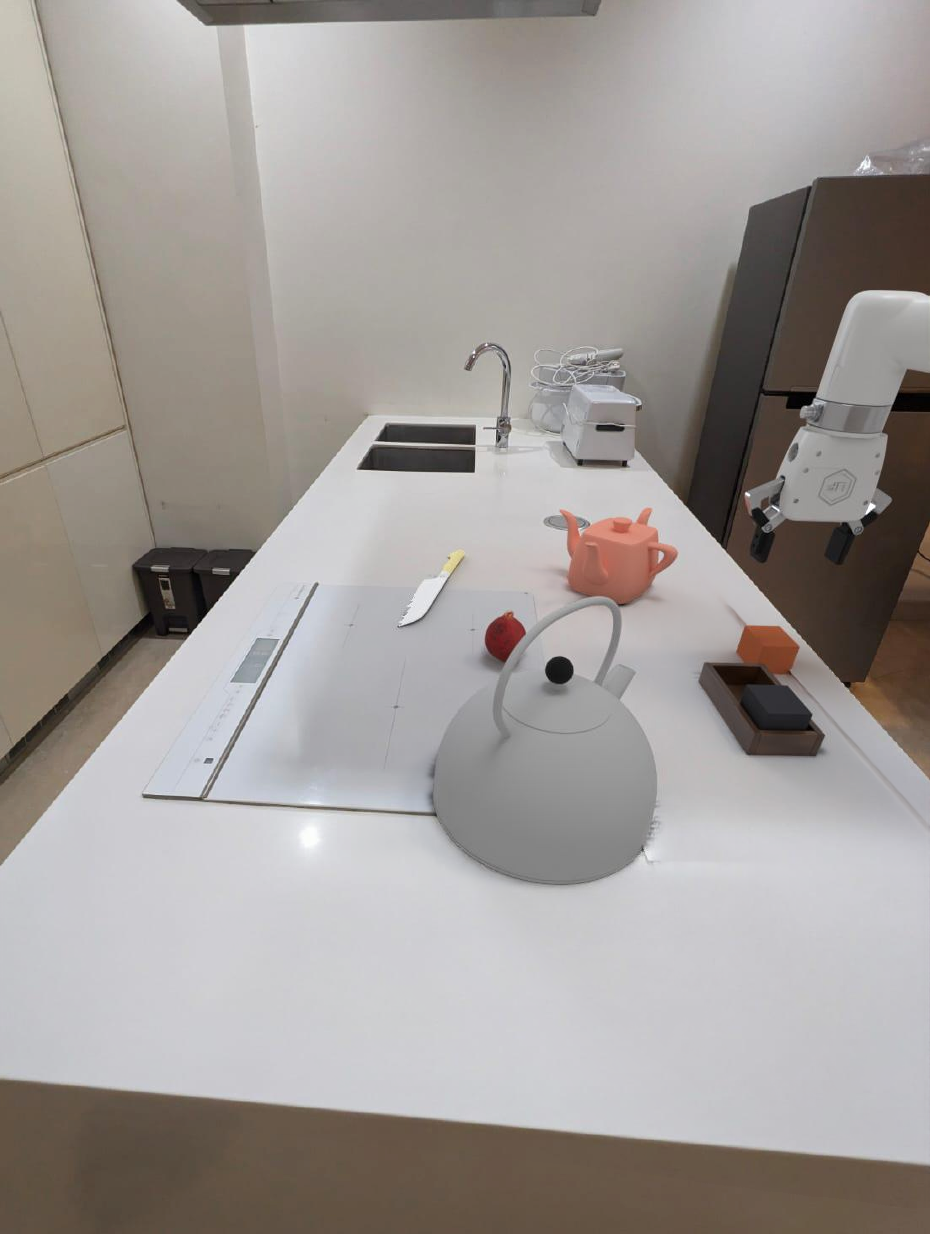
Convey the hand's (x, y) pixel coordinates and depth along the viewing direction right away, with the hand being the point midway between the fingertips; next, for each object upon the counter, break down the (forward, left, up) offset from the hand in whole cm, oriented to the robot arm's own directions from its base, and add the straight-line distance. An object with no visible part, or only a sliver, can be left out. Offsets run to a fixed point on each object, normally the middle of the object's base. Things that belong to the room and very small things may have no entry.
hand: (794, 559), depth 81 cm
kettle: (+34, +26, -17) cm, 46 cm away
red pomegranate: (+36, -1, -17) cm, 40 cm away
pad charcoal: (+6, +15, -16) cm, 23 cm away
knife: (+46, -26, -17) cm, 55 cm away
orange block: (-1, -1, -17) cm, 17 cm away
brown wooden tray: (+6, +12, -17) cm, 21 cm away
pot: (+15, -28, -17) cm, 36 cm away
